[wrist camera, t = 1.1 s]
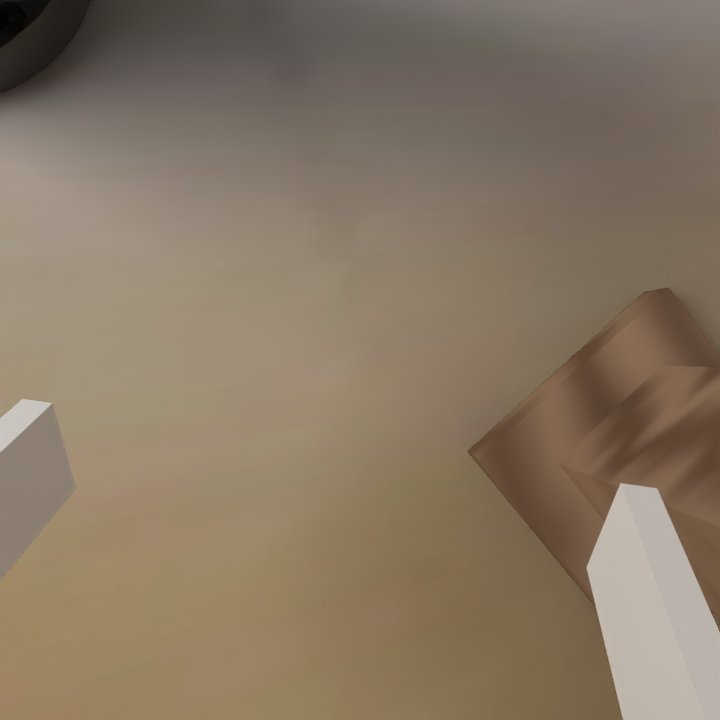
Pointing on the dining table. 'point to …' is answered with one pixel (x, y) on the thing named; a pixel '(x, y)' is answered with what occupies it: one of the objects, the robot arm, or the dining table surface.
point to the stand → (619, 439)
